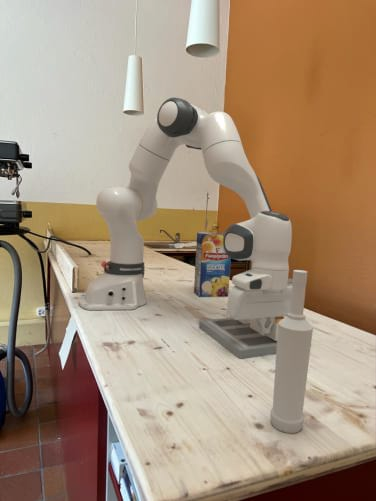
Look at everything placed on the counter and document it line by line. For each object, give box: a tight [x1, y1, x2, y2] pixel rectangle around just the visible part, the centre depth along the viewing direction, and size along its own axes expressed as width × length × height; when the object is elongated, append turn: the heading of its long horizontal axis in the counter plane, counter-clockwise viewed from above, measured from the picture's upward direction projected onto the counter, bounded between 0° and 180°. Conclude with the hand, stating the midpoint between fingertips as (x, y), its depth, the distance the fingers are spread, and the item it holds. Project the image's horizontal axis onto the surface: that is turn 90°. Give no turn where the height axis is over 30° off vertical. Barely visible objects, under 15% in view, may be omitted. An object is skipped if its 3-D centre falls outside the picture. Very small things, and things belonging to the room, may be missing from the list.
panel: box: [198, 317, 277, 360], centre depth 95 cm, size 18×22×7 cm
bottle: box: [270, 269, 314, 434], centre depth 56 cm, size 5×5×25 cm
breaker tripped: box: [266, 316, 286, 341], centre depth 90 cm, size 3×4×5 cm
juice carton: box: [193, 232, 232, 298], centre depth 140 cm, size 12×8×24 cm, turn 105°
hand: (264, 333), depth 89 cm, fingers closed
